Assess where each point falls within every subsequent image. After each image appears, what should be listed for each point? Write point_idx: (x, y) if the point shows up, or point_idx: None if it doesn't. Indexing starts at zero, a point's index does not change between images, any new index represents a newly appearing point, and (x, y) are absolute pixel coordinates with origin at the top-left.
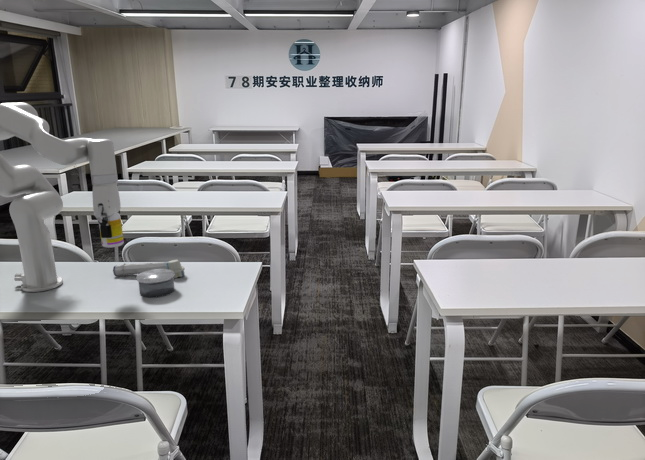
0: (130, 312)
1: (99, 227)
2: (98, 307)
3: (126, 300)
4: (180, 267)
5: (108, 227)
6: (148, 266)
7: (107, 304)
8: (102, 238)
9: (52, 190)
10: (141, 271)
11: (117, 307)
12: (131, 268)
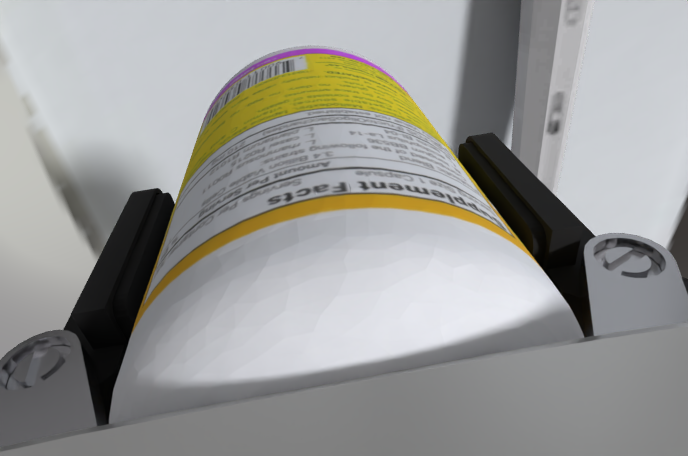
0: (87, 223)
1: (224, 164)
2: (64, 51)
3: (193, 142)
4: None
5: None
6: (529, 117)
7: (117, 77)
8: (192, 153)
9: None
10: (517, 66)
11: (107, 145)
12: (536, 4)
